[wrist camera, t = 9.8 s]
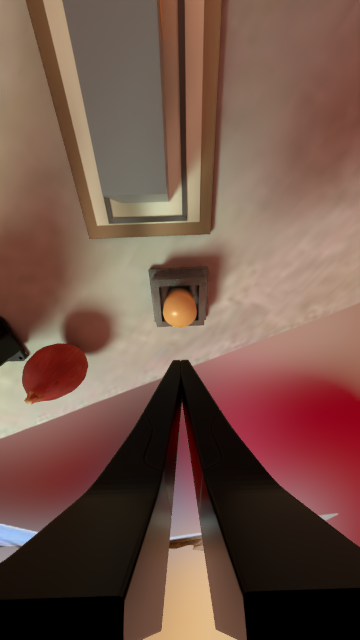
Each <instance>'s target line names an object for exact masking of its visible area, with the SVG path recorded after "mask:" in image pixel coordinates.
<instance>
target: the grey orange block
mask: <svg viewBox="0 0 360 640" xmlns="http://www.w3.org/2000/svg"><path fill="white" fill-rule="evenodd" d="M62 1H63V6H64V11H65V15H66V20H67V25H68V30H69V35H70V40H71V45H72V50H73V54H74V59H75V64H76V69H77V74H78V79H79V84H80V88H81V93H82V98H83V103H84V108H85V113H86V118H87V123H88V127H89V132H90V137H91V142H92V147H93V152H94V157H95V162H96V166H97V171H98V176H99V181H100V186H101V191H102V196H104V197H107V198H109V199H112V200H114V201H117V202H119V203H147V202H169V182H168V160H167V139H166V117H165V95H164V73H163V51H162V39H163V32H162V10H161V0H62Z"/></svg>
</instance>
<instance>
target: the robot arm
mask: <svg viewBox="0 0 360 640" xmlns="http://www.w3.org/2000/svg"><path fill="white" fill-rule="evenodd" d="M26 358H27V355H26V354H25V352H24V351H23V349H22V347H21V346H20V344H19V343H18V341H17V339H16V338H15V336H14V335H13V333H12V331H11V330H10V328H9V327H8V325H7V323H6V322H5V320H4V319H3V318H1V317H0V366H2V365H3V364H4V363H5V362H7V361H24V360H25V359H26ZM182 404H183V412H184V418H185V425H186V431H187V439H188V445H189V452H190V459H191V466H192V472H193V478H194V486H195V492H196V499H197V506H198V513H199V519H200V526H201V533H202V540H203V546H204V553H205V559H206V566H207V573H208V580H209V586H210V593H211V600H212V606H213V613H214V620H215V627H216V630H218V631H220V632H223V633H225V634H227V635H229V636H231V637H233V638H235V639H237V640H360V547H359V546H358V545H356V544H355V543H353V542H352V541H351V540H349V539H348V538H347V537H345V536H344V535H343V534H341V533H340V532H339V531H338V530H336V529H335V528H334V527H332V526H331V525H330V524H328V523H327V522H326V521H325V520H323V519H322V518H321V517H319V516H318V515H317V514H316V513H314V512H313V511H311V510H310V509H309V508H308V507H306V506H305V505H304V504H303V503H301V502H300V501H299V500H297V499H296V498H295V497H293V496H292V495H291V494H290V493H288V492H287V491H286V490H284V488H282V487H281V486H280V485H279V484H278V483H277V482H276V481H275V480H274V479H273V478H272V477H271V476H270V474H269V473H268V472H267V471H266V470H265V468H264V467H263V466H262V465H261V463H260V462H259V461H258V460H257V459H256V457H255V456H254V455H253V453H252V452H251V451H250V450H249V448H248V447H247V446H246V445H245V444H244V442H243V441H242V440H241V439H240V437H239V436H238V435H237V433H236V432H235V431H234V429H233V428H232V427H231V425H230V424H229V422H228V421H227V419H226V418H225V416H224V415H223V413H222V412H221V410H219V407H218V406H217V404H216V403H215V401H214V400H213V398H212V396H211V395H210V393H209V392H208V390H207V388H206V387H205V385H204V384H203V382H202V381H201V379H200V378H199V376H198V374H197V373H196V371H195V370H194V368H193V367H192V365H191V363H190V362H189V360H181V361H180V360H173V361H172V363H171V365H170V366H169V368H168V370H167V372H166V373H165V375H164V377H163V379H162V381H161V382H160V384H159V385H158V387H157V389H156V391H155V392H154V394H153V396H152V398H151V400H150V401H149V403H148V405H147V406H146V408H145V410H144V412H143V413H142V415H141V416H140V418H139V420H138V422H137V423H136V425H135V426H134V428H133V430H132V431H131V433H130V434H129V436H128V437H127V438H126V440H125V441H124V443H123V444H122V446H121V447H120V448H119V450H118V451H117V452H116V454H115V455H114V457H113V458H112V459H111V461H110V462H109V463H108V465H107V466H106V468H105V469H104V470H103V472H102V473H101V474H100V476H99V477H98V478H97V480H96V481H95V482H94V483H93V485H92V486H91V487H90V488H89V489H88V490H87V491H86V492H85V493H84V494H83V495H82V496H81V497H80V498H79V499H78V500H76V501H75V502H74V503H73V504H72V505H70V506H69V507H68V508H67V509H66V510H65V511H63V512H62V513H61V514H60V515H59V516H57V517H56V518H55V519H54V520H53V521H51V522H50V523H49V524H48V525H47V526H45V527H44V528H43V529H42V530H41V531H40V532H38V533H37V534H36V535H35V536H34V537H32V538H31V539H30V540H29V541H28V542H26V543H25V544H24V545H23V546H22V547H21V548H19V549H18V550H17V551H16V552H15V553H13V554H12V555H11V556H9V557H8V558H7V559H6V560H4V561H2V562H1V563H0V640H142V639H144V638H146V637H149V636H151V635H153V634H155V633H158V632H160V631H161V628H162V616H163V606H164V595H165V584H166V572H167V561H168V550H169V539H170V528H171V516H172V505H173V494H174V484H175V472H176V462H177V450H178V440H179V429H180V417H181V406H182Z"/></svg>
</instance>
